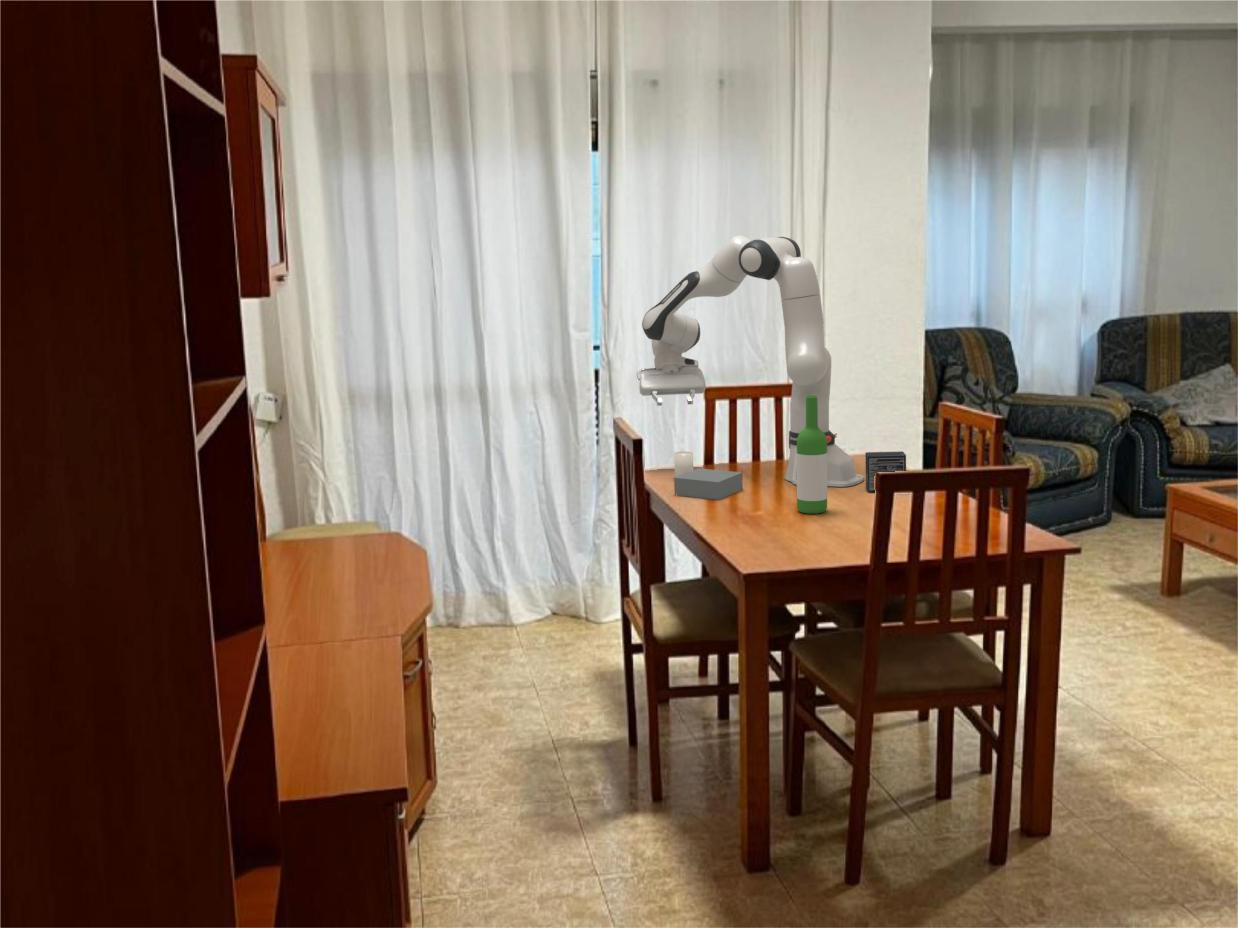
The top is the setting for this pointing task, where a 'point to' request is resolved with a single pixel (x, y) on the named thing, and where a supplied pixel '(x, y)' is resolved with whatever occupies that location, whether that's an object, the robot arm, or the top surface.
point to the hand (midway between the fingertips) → (675, 403)
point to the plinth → (708, 484)
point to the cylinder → (683, 463)
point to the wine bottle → (812, 463)
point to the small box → (882, 465)
